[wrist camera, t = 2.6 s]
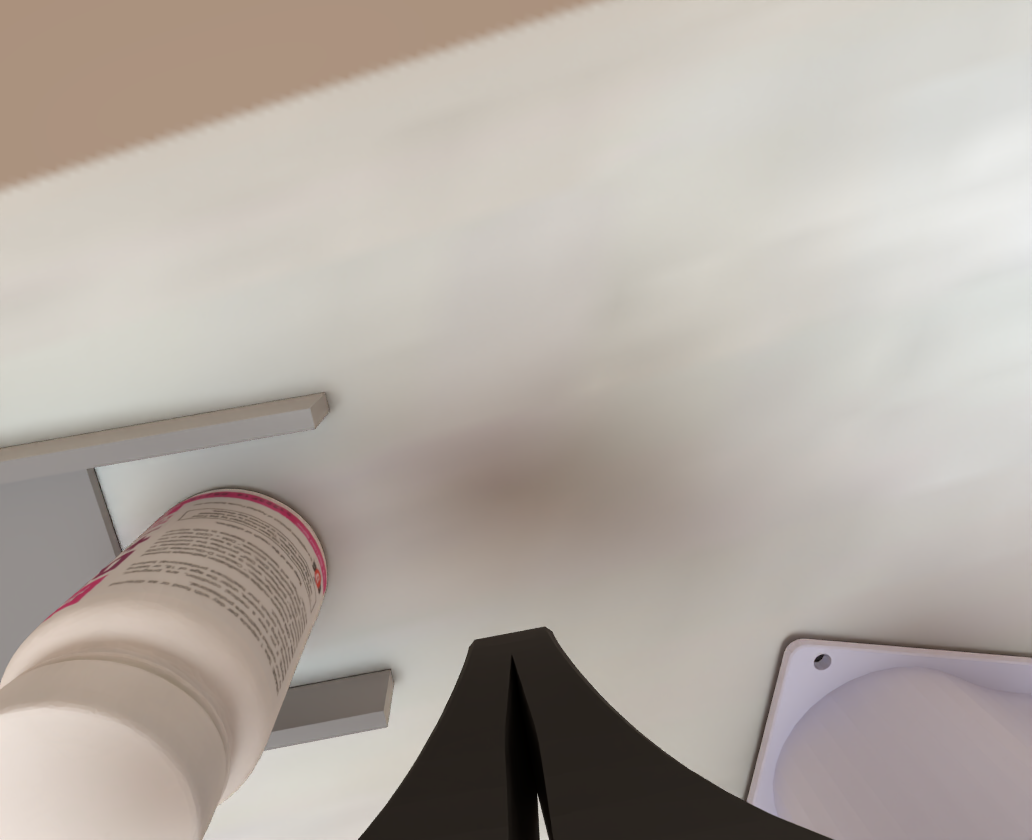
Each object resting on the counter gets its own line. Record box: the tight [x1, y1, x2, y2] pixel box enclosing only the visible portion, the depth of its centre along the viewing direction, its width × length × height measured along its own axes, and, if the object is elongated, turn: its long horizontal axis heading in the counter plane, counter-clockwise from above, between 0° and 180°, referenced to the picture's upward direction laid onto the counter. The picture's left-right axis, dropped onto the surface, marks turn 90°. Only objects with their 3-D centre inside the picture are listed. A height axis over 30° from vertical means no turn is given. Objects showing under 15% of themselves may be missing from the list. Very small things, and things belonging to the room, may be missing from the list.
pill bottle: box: [0, 489, 327, 840], centre depth 14 cm, size 5×5×8 cm
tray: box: [0, 392, 394, 751], centre depth 17 cm, size 15×9×2 cm, turn 99°
